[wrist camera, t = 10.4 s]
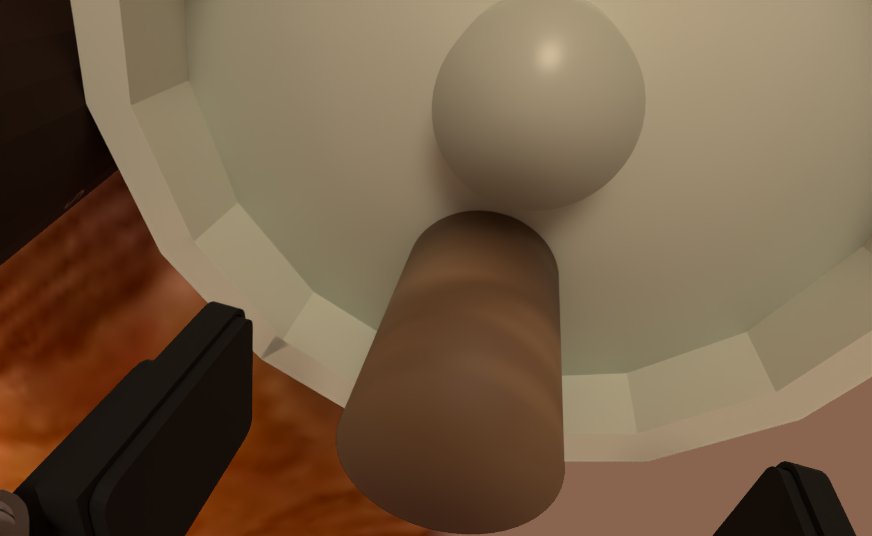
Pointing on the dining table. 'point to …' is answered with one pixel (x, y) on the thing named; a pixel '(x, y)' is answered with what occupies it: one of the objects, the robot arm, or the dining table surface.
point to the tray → (520, 183)
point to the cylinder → (463, 382)
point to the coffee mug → (43, 122)
